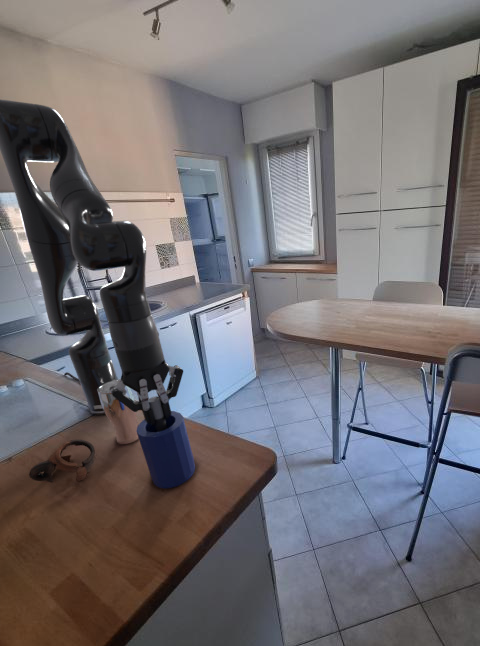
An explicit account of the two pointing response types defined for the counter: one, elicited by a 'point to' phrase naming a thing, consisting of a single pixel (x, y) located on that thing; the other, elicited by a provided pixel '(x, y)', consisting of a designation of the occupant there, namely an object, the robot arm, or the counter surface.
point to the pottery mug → (64, 463)
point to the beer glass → (119, 413)
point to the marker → (158, 413)
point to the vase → (167, 451)
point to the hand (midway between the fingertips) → (159, 420)
